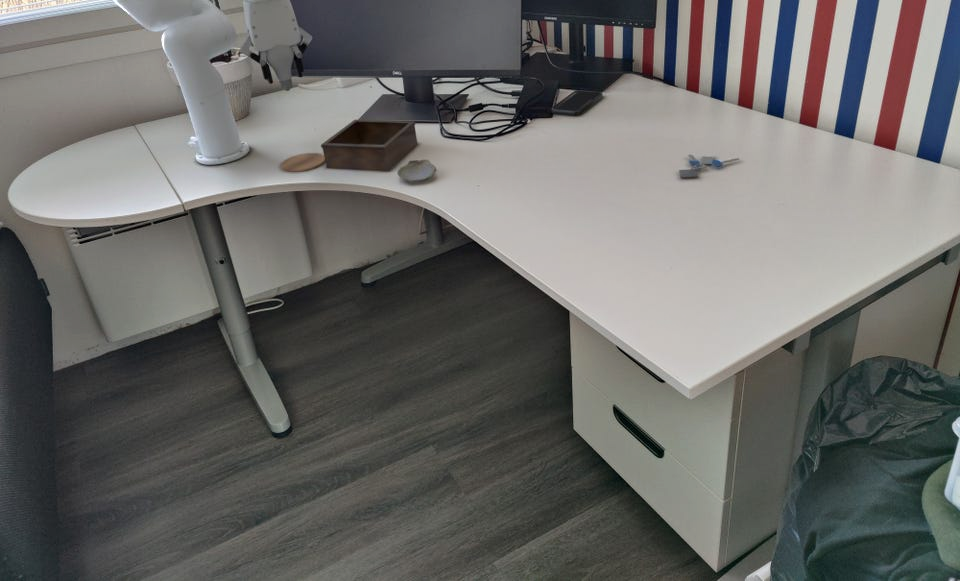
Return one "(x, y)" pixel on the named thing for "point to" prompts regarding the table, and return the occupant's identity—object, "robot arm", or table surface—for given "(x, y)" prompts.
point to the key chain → (705, 160)
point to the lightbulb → (281, 64)
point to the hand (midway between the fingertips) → (284, 78)
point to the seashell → (417, 170)
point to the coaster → (303, 162)
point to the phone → (577, 102)
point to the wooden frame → (351, 155)
